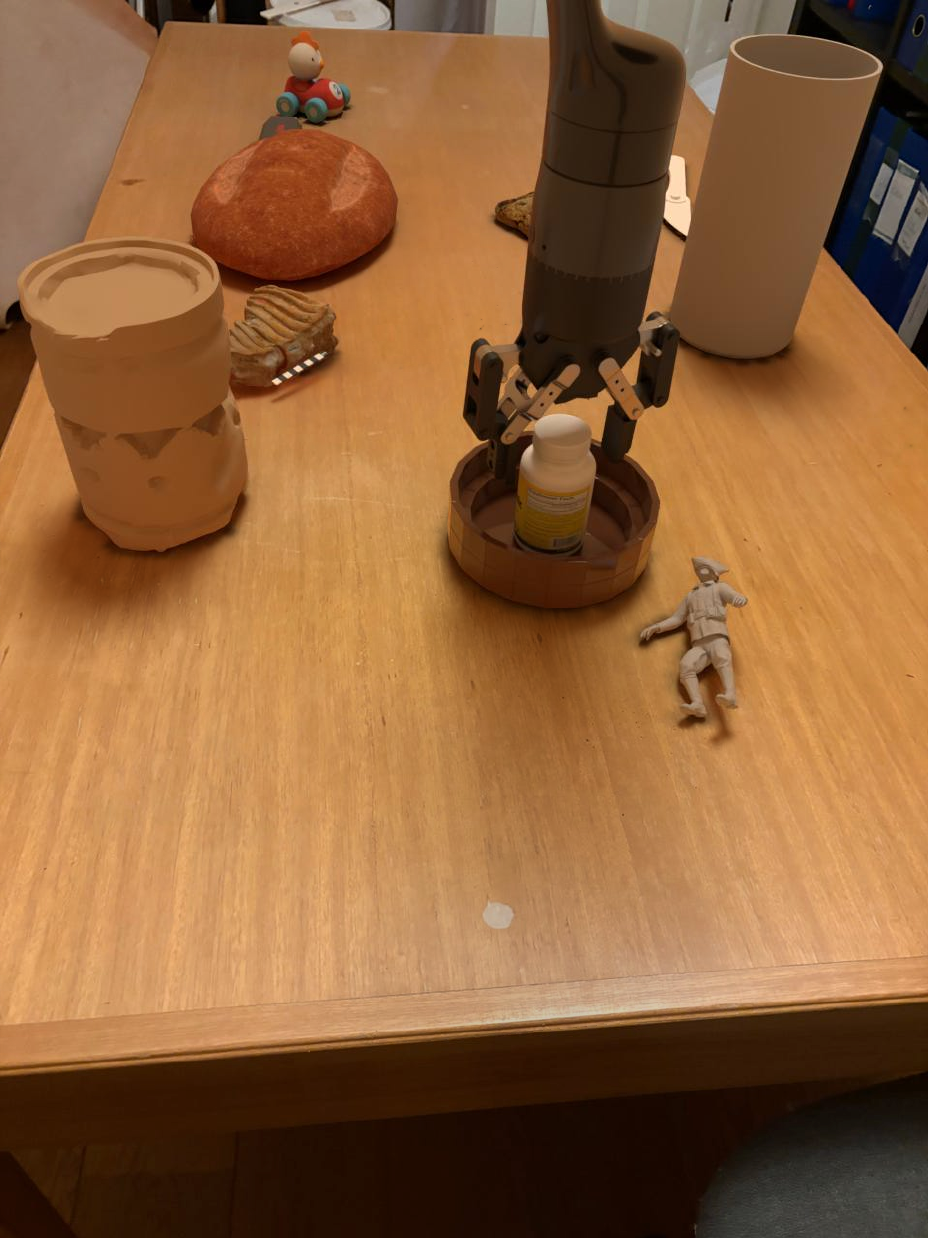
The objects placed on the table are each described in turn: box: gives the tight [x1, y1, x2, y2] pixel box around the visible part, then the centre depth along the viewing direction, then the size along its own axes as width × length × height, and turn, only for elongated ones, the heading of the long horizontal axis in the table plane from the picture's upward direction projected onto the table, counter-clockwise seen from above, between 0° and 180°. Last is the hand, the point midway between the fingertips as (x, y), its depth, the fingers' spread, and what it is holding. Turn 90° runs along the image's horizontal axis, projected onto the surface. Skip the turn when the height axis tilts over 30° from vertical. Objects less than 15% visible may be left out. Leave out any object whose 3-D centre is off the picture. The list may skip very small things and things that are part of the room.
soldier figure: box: [639, 556, 749, 718], centre depth 63 cm, size 8×5×12 cm
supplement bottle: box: [514, 413, 596, 557], centre depth 67 cm, size 5×5×10 cm
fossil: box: [228, 284, 340, 388], centre depth 84 cm, size 12×6×9 cm
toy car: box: [275, 30, 351, 124], centre depth 130 cm, size 9×9×10 cm
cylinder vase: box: [669, 33, 884, 360], centre depth 86 cm, size 12×12×25 cm
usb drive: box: [257, 115, 303, 141], centre depth 122 cm, size 5×12×3 cm, turn 3°
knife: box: [663, 154, 692, 237], centre depth 118 cm, size 26×4×1 cm, turn 171°
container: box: [16, 235, 251, 553], centre depth 66 cm, size 13×13×18 cm
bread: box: [190, 128, 399, 281], centre depth 104 cm, size 23×32×9 cm
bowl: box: [447, 430, 661, 609], centre depth 69 cm, size 15×15×5 cm
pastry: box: [494, 190, 534, 237], centre depth 111 cm, size 17×17×3 cm
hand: (558, 467), depth 66 cm, fingers open, 8 cm apart
